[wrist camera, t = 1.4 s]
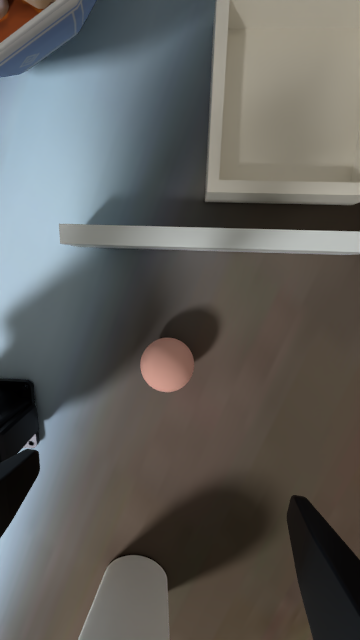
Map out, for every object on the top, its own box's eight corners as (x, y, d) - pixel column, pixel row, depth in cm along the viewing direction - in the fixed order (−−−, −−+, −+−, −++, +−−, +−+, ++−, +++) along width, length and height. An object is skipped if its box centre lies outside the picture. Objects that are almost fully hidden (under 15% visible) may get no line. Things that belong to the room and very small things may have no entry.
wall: (80, 247, 19) (60, 243, 16) (79, 230, 18) (59, 223, 15) (347, 254, 18) (378, 252, 15) (350, 237, 18) (382, 232, 15)
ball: (145, 376, 21) (135, 401, 17) (145, 330, 20) (134, 346, 16) (192, 378, 21) (193, 404, 17) (194, 332, 20) (195, 348, 16)
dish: (204, 202, 18) (206, 192, 15) (213, 23, 15) (217, -20, 13) (351, 205, 17) (377, 195, 15) (382, 23, 15) (418, -22, 13)
